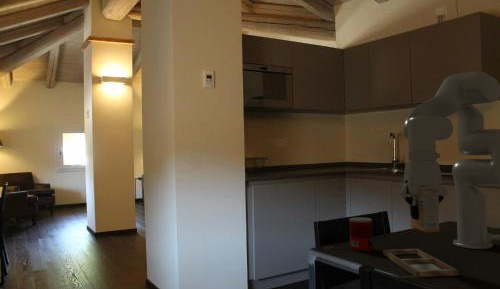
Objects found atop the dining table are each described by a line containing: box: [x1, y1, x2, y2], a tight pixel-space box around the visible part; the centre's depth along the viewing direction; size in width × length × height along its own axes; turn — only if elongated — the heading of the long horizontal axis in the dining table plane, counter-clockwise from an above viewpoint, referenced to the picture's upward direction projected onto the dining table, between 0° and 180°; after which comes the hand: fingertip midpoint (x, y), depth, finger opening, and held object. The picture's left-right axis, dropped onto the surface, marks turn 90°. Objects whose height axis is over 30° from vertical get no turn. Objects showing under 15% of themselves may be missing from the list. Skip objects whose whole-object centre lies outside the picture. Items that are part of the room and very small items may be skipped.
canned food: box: [349, 216, 374, 252], centre depth 143 cm, size 8×8×11 cm
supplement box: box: [410, 186, 440, 233], centre depth 117 cm, size 8×5×13 cm, turn 5°
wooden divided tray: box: [382, 248, 459, 278], centre depth 123 cm, size 12×25×2 cm, turn 2°
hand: (424, 217), depth 117 cm, fingers closed on supplement box, 5 cm apart
